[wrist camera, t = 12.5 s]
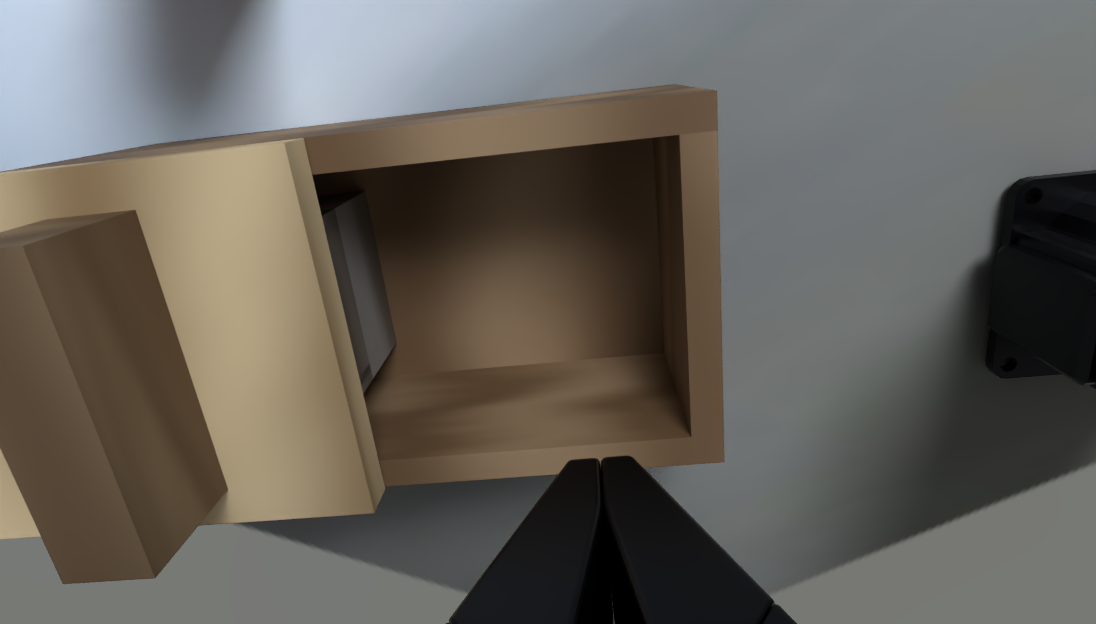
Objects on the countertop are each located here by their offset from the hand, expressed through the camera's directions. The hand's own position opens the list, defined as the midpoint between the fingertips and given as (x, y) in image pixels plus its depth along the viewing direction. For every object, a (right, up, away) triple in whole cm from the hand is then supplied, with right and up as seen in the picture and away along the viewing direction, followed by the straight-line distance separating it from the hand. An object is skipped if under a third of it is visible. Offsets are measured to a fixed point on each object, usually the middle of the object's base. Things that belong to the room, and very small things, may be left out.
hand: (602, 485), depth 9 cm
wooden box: (-4, +4, +13) cm, 14 cm away
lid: (-13, +1, +7) cm, 15 cm away
